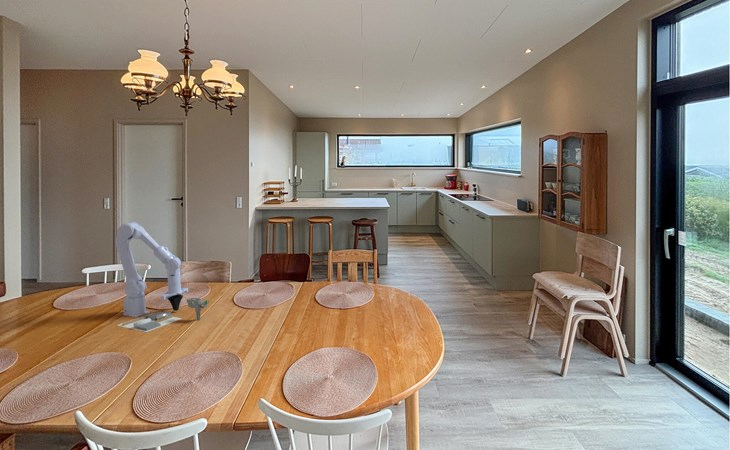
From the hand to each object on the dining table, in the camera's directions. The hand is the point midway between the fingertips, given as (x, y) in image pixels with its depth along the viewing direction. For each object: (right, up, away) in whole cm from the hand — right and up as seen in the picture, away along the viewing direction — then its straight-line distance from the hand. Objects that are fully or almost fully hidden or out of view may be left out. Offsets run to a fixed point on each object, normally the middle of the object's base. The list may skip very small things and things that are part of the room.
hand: (175, 310), depth 210 cm
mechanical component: (+15, -3, -11) cm, 19 cm away
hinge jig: (-6, -3, -14) cm, 15 cm away
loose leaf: (-4, -2, -8) cm, 9 cm away
